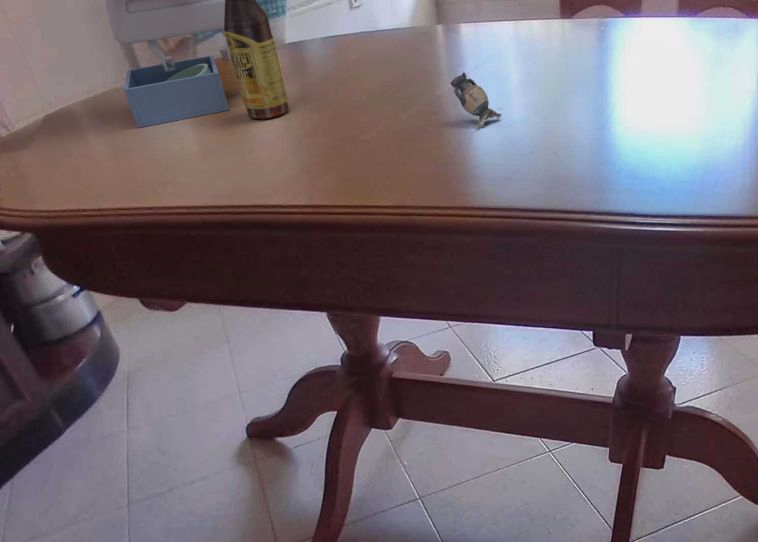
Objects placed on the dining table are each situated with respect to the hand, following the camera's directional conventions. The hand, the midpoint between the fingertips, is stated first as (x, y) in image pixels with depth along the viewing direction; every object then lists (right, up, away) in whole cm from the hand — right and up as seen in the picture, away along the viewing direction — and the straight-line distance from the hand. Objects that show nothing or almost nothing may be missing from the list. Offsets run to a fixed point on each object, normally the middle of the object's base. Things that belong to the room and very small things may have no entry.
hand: (199, 65), depth 108 cm
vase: (+43, -14, -16) cm, 48 cm away
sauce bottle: (+12, -9, -5) cm, 16 cm away
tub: (-3, -6, +2) cm, 7 cm away
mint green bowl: (-2, -4, +2) cm, 5 cm away
